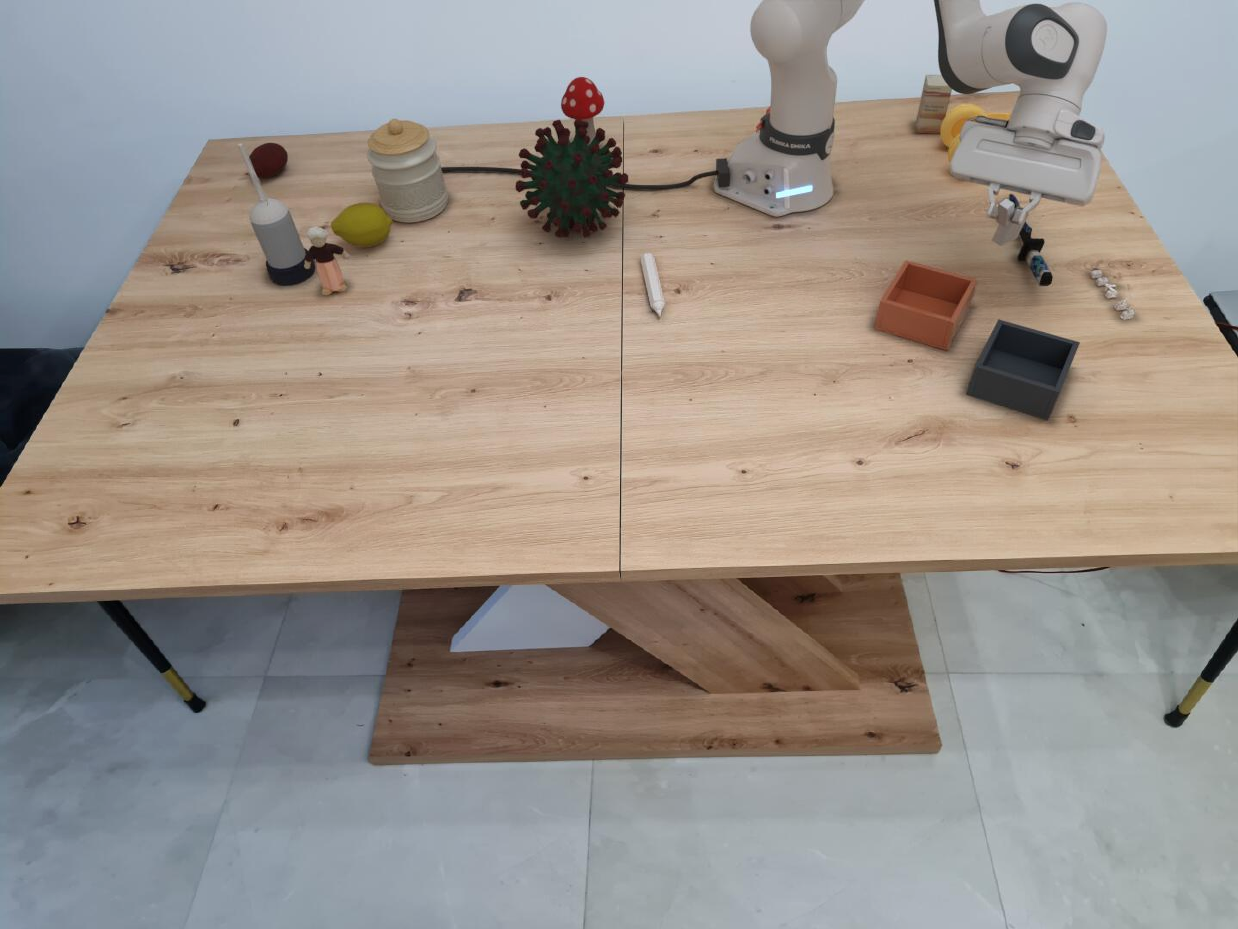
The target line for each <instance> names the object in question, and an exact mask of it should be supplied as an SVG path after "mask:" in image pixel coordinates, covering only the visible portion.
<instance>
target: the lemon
mask: <svg viewBox="0 0 1238 929" xmlns="http://www.w3.org/2000/svg"><path fill="white" fill-rule="evenodd" d="M393 222H394V220H393V219H391V218H390V217H388V216H387V215H386V213H385V211H384V209H383V208H382V206H379V205H378V204H375V203H374V202H373V203H372V202H358V203H354V204H352V205H351V204H350V205H349V206H347V207H345V209H343V210H342V211H341V212H340V213H339V214H337V216H336V217H335V218H334V219H333V220H332V221H331V222H330V227H331V230H332V232H333V234H334V235H335V236H337V237H340V238H341V239H342V240H343V241H344V242H345V243H347V244H349V245H351V246H354V247H356V248H357V247H358V248H371V247H375V246H378V245H379V244H381V243H383V242H384V241H385V240H386V239H387V238H388V236H389V234H390V232H391V227H392V225H393Z"/></svg>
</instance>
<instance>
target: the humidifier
mask: <svg viewBox="0 0 1238 929" xmlns="http://www.w3.org/2000/svg"><path fill="white" fill-rule="evenodd" d="M237 146H238V149H239V151H240V154H241V156H242V159H243V162H244V164H245V167H246V169H247V171H248V173H249V176H250V179H251V182H252V184H253V187H254V188H255V191H256V194H257V196H258V201H256V202H255V203H254V204H253V206H252V207H251V209H250V211H249V221H250V224H251V227H252V229H253V232H254V234H255V236H256V238H257V241H258V243H259V245H260V248H261V250H262V251H263V254H264V257H265V259H266V260H265V267H266V272H267V273H268V274H267V275H268V276H269V278H270V280H271V282H272V283H273V284H275V285H277V286H280V287H281V286H282V287H292V286H296V285H299V284H301V283H304V282H306V281H307V280H308V279H311V277H312V276H313V275H314V273H315V271H316V263H315V262H314V261H315V260H313V261H311V264H310V268H309V269H306V268H305V267H304V264H305V257H306V254H307V252H308V250H309V249H307V248H305V246H304V244H303V242H302V239H301V237H300V234H299V231H298V229H297V227H296V224H295V222H294V219H293V217H292V214H291V211H290V210H289V208H288V206H287V205H286V204H285V203H283V202H282V201H280V200H278V199H275V198H272V197H271V198H270V197H267V196H266V194H265V192H264V190H263V186H262V183H261V181H260V178H258V177H256V176H257V175H256V173H255V171H254V168H252V167H253V165H252V163H250V162H251V160H250V158H249V156H250V155H249V154H248V151H247V150H246V149H245V147H244V144H243V143H242V142H241V143H238V144H237ZM249 160H250V161H249Z"/></svg>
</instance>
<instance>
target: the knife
mask: <svg viewBox="0 0 1238 929" xmlns="http://www.w3.org/2000/svg"><path fill="white" fill-rule="evenodd" d="M1008 200H1010V201H1011V202H1013V203H1014V204H1015V206H1014V208H1017V207H1019V206H1020V207H1021V205H1020V203H1019V200H1018V198H1017V197H1016V196H1015V194H1013V193H1009V194H1008ZM1032 233H1033V228H1032V227H1030V226H1029V224H1028V223H1027V220H1026V221H1025V223H1024V225H1023V227H1022V229H1021V231H1020V233H1019V237H1020V240H1021V242H1022V245H1021V247H1020V250H1019V253H1018V255H1017V260H1018V261H1026V262H1027V264H1028V267H1029V269H1030V271H1031V273H1032V276H1033V278H1034V280H1035V282H1036V285H1037V286H1038V287H1049V286H1050V285H1052V283H1053V279H1054V276H1053V273H1052V271H1051V269H1050V268H1049V266H1048V265H1047V263H1046V261H1045V260H1044V258H1043V256H1042V255H1041V251H1042V249H1043V247H1044V245H1045V243H1046V242H1045V239H1044V238H1039V237H1038V238H1036V237H1035V238H1032Z"/></svg>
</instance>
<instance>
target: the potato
mask: <svg viewBox="0 0 1238 929" xmlns="http://www.w3.org/2000/svg"><path fill="white" fill-rule="evenodd" d="M248 156H249V157H248V158H250V160H251V162H250V163H252V165H253V167H252V168H254V171H255V173H256V175H257V176H256V177H258V178H257V179H269V178H271V177H274V176H275V175H277V174H278V173H281V171H283V169H284V168H285V167H286V165H287V163H288V159H289V154H288V151H287V150H286V149H285V148H284V146H283V145H281V144H279V143H276V142H265V143H262V144H260V145H258V146H257V147H255V148H254V149H253V150H252V152H251V153H250V154H249V155H248ZM250 160H249V161H250Z"/></svg>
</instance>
